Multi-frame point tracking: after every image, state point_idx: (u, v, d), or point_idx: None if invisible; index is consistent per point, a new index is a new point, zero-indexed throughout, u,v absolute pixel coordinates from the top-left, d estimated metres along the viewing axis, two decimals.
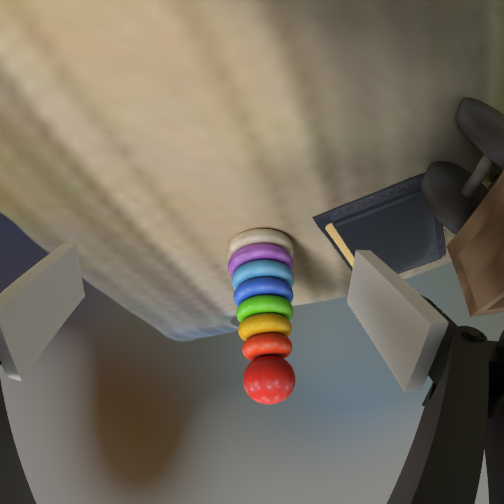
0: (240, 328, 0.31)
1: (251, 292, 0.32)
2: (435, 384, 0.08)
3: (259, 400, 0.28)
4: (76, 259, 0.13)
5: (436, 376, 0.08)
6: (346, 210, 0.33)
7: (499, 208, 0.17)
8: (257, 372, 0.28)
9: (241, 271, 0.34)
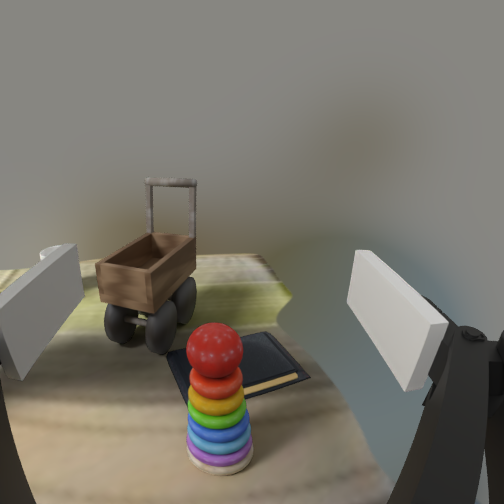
0: (199, 407, 0.27)
1: (191, 418, 0.29)
2: (435, 384, 0.08)
3: (203, 336, 0.26)
4: (76, 259, 0.13)
5: (436, 376, 0.08)
6: (185, 392, 0.42)
7: (114, 296, 0.45)
8: None
9: (191, 439, 0.29)
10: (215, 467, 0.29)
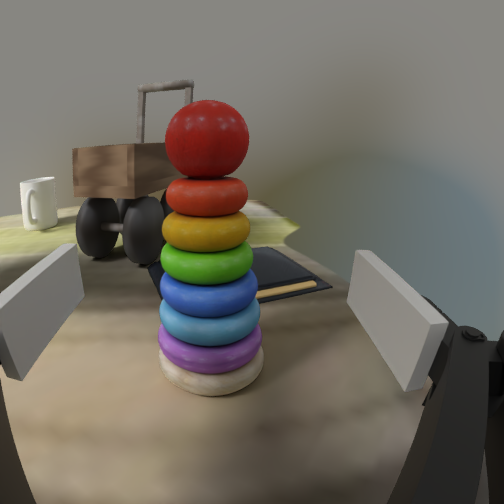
0: (176, 233, 0.18)
1: (165, 278, 0.20)
2: (435, 384, 0.08)
3: (192, 103, 0.17)
4: (76, 259, 0.13)
5: (436, 376, 0.08)
6: None
7: (90, 184, 0.36)
8: None
9: (163, 320, 0.20)
10: (201, 377, 0.19)
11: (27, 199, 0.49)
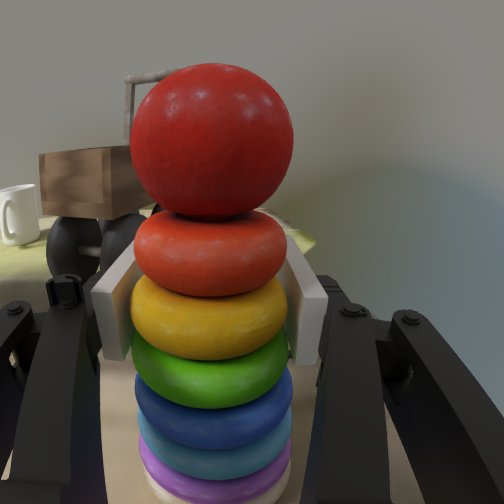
0: (151, 329, 0.09)
1: (141, 379, 0.11)
2: (323, 364, 0.10)
3: (183, 68, 0.08)
4: None
5: (322, 356, 0.10)
6: None
7: (60, 200, 0.27)
8: None
9: (143, 436, 0.11)
10: None
11: (2, 211, 0.40)
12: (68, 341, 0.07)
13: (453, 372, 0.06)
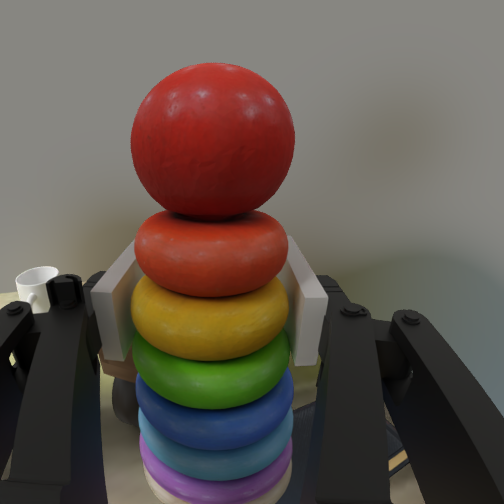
0: (152, 329, 0.09)
1: (142, 379, 0.11)
2: (323, 364, 0.10)
3: (184, 68, 0.08)
4: None
5: (322, 356, 0.10)
6: None
7: (128, 368, 0.25)
8: (131, 152, 0.09)
9: (143, 437, 0.11)
10: None
11: None
12: (68, 341, 0.07)
13: (453, 372, 0.06)
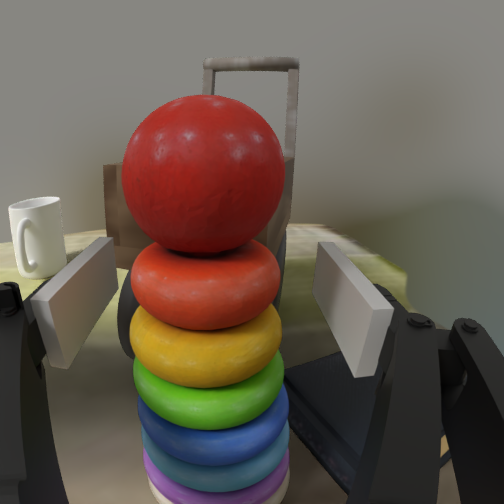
0: (151, 360, 0.09)
1: (143, 399, 0.11)
2: (385, 373, 0.09)
3: (171, 102, 0.08)
4: (112, 252, 0.14)
5: (385, 365, 0.09)
6: (345, 473, 0.15)
7: None
8: None
9: (147, 451, 0.11)
10: None
11: (19, 237, 0.31)
12: (11, 346, 0.06)
13: (503, 379, 0.05)
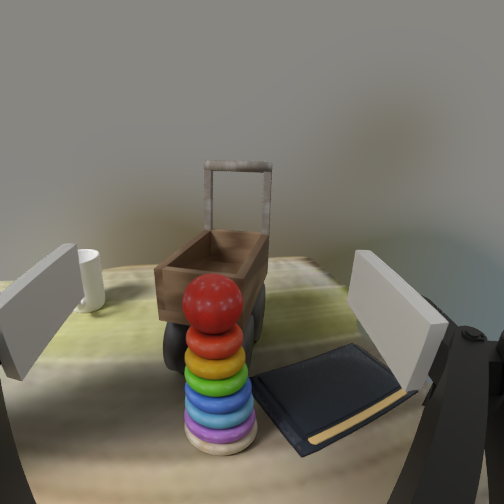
0: (196, 370, 0.25)
1: (188, 387, 0.28)
2: (435, 384, 0.08)
3: (200, 284, 0.25)
4: (76, 259, 0.13)
5: (436, 376, 0.08)
6: (288, 430, 0.31)
7: (182, 312, 0.35)
8: (183, 311, 0.25)
9: (188, 412, 0.28)
10: (215, 445, 0.27)
11: None
12: None
13: None
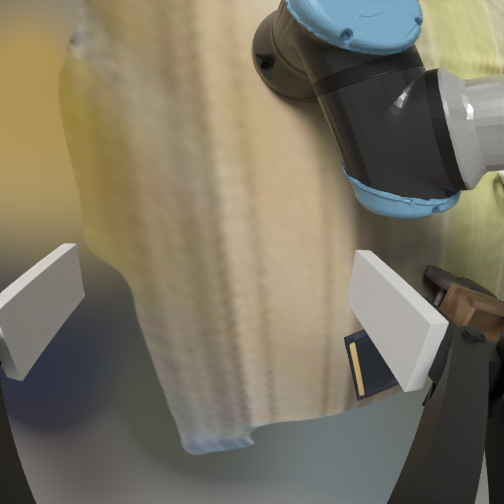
0: None
1: None
2: (435, 384, 0.08)
3: None
4: (76, 259, 0.13)
5: (436, 376, 0.08)
6: (364, 333, 0.55)
7: (448, 304, 0.42)
8: None
9: None
10: None
11: None
12: None
13: None
